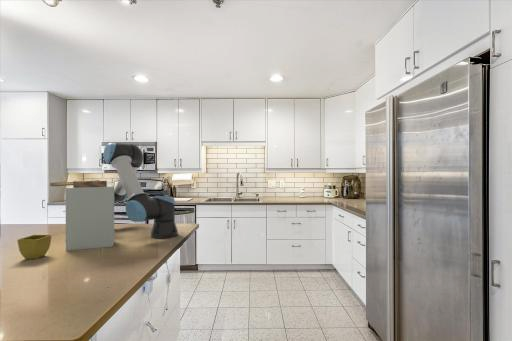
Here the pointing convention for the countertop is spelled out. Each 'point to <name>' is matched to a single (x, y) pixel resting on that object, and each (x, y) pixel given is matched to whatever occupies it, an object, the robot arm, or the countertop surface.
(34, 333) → the countertop surface
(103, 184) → the T-bar
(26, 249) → the flower pot
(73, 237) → the stand
